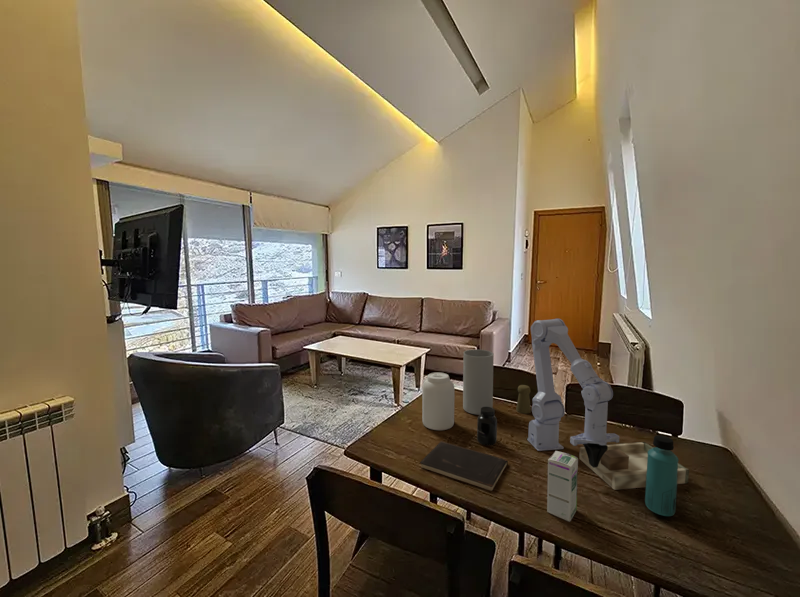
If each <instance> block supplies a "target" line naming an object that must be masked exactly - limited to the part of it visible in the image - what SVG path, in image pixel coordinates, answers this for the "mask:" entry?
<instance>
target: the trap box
mask: <svg viewBox="0 0 800 597" xmlns="http://www.w3.org/2000/svg"><path fill="white" fill-rule="evenodd" d="M607 446H608V450H618V449H619V450H621V451H622V452H624V453H625V454H626V455H628V456H629V464H628V469H622V470H611V471H610V470H608V469H607V468H606V467H605V466H604V465H602V464H601V460H600V462H599V465H598V467H595V468H594V467H592V466H591V465H590V464H589V459H588V455H587V452H586V450H585V447H584V446H580V447H579V456H578V457H579V458H578V460H579V461H581V462H583V464H584V465H586V466H587V467H588V468H589V469H590V470H592V471H593V472H594V473H595V474H596V475H597V476H598V477H599V478H600V479H602V481H604V482H605V483H606V484H607V485H609V487H611V488H612V489H613V490H614V491H615V490H616V491H618V490H628V489H636V488H637V489H638V488H640V489H641V488H646V485H645V484H646V473H647V471H646V470H647V460H648V450H650V449H652V448H654V446H652V445H650V444H649V443H646V442H645V441H641V442H628V443H616V444H607ZM689 474H690V469H689V468H687V467H685V466H683V465H682V464H681V463H679V462H678V471H677V476H678V477H677V485H682V484H688V483H689V477H690V476H689Z"/></svg>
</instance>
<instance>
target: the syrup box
mask: <svg viewBox="0 0 800 597" xmlns="http://www.w3.org/2000/svg"><path fill="white" fill-rule="evenodd" d="M578 465H579V458H578V457H577V456H575V455H572V454H570V453H568V452H567V453H566V452H562V451H558V450H555V451H554V452H553V454H552V455H551V456H550V457H549V458H548V459H547V491H546V492H547V495H546V497H547V498H546V502H547V503H546V511H547V513H549V514H551V515H553V516H555V517H557V518H560V519H562V520H564V521H566V522H568V523H570V522H571V521H572V520H573V518H574V517H575V516H574V515H575V514H576V512H577V510H578V507H577V506H578V480H579V479H578V472H579V471H578V470H579V469H578V468H579V466H578Z"/></svg>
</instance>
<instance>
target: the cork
mask: <svg viewBox="0 0 800 597" xmlns="http://www.w3.org/2000/svg"><path fill="white" fill-rule="evenodd" d="M531 391H532V390H531V387H530V386H529V385H526V384H520V385H518V387H517V392H518V397H517V402H516V407H515V408H516V409H515V410H516V412H517V413H520V414H525V415H527V414H531V412H532V407H531V401H530V400H531V399H530V398H531V397H530V394H531Z"/></svg>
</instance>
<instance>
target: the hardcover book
mask: <svg viewBox="0 0 800 597" xmlns="http://www.w3.org/2000/svg"><path fill="white" fill-rule="evenodd" d="M508 461H509V460H508V459H506V458H501V457H498V456H494V455H491V454H487V453H483V452H481V451H477V450H473V449H470V448H466V447H463V446H460V445H455V444H452V443H449V442H447V441H446V442H445V441H443V440H441V441H439V442H438V443H437V445H435V447H433V449H431V451H430V452H429V453H427V455H426V456H424V457H423V458H422V460H421V461H420V462H419V464H420V466H421V468H422V469H425V470H429V471H431V472H434V473H437V474H440V475H442V476H446V477H449V478H451V479H455V480H459V481H462V482H464V483H466V484H467V483H468V484H470V485H473V486H477V487H479V488H482V489H485V490H487V491H493V490H494V488H495V486H496V484H497V483H498V480H499V479H500V477H501V476H502V474H503V471H504V470H505V468H506V467H507V465H508Z"/></svg>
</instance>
